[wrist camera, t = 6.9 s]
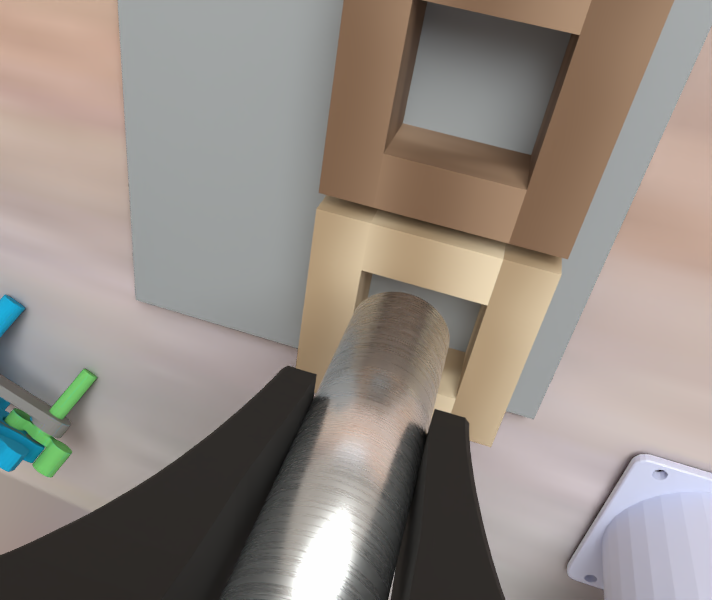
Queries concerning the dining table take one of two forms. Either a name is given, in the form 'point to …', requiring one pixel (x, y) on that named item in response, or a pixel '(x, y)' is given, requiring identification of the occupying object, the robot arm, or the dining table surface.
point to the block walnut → (475, 159)
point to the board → (307, 141)
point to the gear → (34, 414)
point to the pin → (351, 463)
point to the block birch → (439, 273)
